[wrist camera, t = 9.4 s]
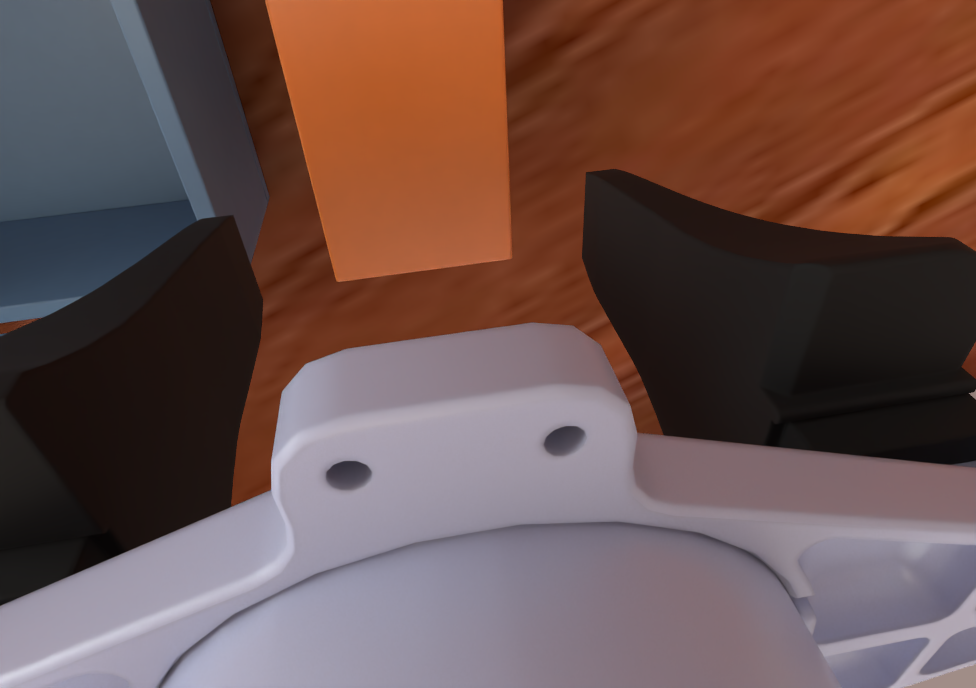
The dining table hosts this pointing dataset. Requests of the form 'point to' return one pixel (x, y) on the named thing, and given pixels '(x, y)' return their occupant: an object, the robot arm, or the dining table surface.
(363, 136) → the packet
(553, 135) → the dining table surface
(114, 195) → the carton
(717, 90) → the dining table surface
